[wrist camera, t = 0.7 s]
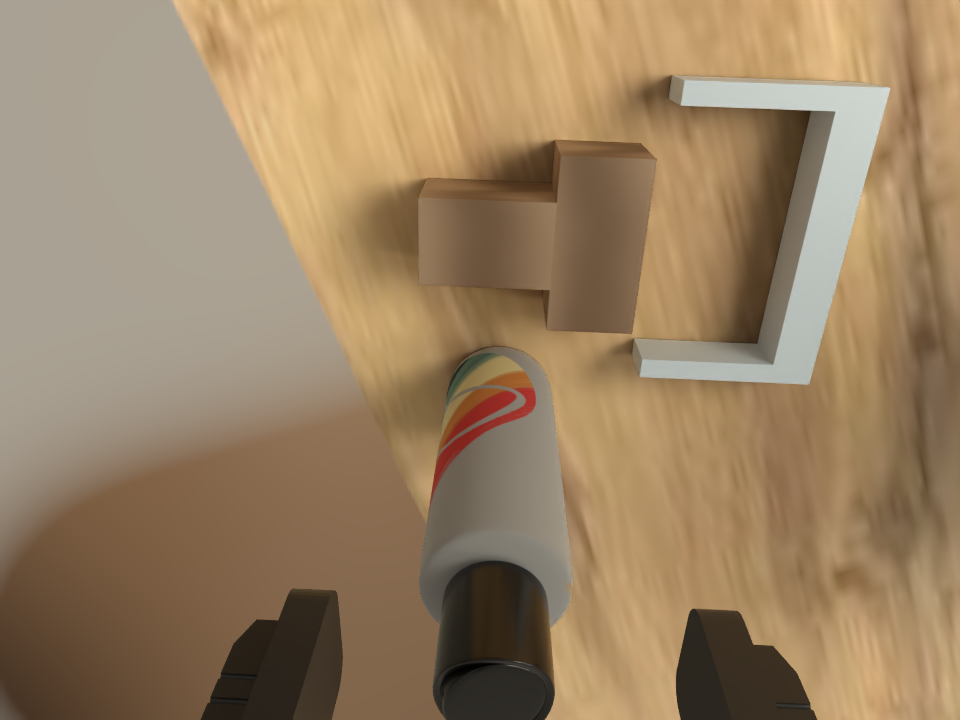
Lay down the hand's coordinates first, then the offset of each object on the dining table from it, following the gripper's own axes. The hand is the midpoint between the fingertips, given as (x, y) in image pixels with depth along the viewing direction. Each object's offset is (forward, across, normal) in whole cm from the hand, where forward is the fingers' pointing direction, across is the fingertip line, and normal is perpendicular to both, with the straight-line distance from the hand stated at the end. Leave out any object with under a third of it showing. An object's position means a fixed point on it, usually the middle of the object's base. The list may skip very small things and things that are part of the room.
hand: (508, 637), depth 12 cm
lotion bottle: (+26, 0, +9) cm, 27 cm away
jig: (+25, -12, 0) cm, 28 cm away
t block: (+25, -1, 0) cm, 26 cm away
